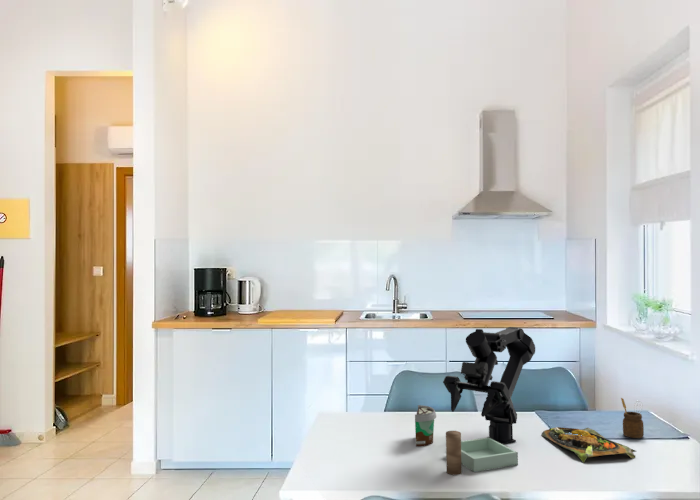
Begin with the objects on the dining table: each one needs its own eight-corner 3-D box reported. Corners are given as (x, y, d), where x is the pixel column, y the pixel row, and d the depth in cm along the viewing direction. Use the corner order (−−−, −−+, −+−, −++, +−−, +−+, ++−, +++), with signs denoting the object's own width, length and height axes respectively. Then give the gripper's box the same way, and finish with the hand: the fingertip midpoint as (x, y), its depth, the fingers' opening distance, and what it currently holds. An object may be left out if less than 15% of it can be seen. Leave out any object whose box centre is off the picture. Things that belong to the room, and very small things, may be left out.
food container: (435, 449, 167) (435, 415, 167) (415, 448, 168) (414, 415, 168) (437, 436, 179) (437, 405, 179) (418, 435, 180) (418, 404, 180)
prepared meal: (535, 423, 181) (587, 419, 183) (536, 433, 181) (587, 429, 183) (580, 455, 153) (641, 450, 155) (581, 468, 153) (641, 463, 155)
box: (488, 449, 166) (488, 437, 166) (518, 464, 153) (517, 452, 153) (447, 455, 161) (447, 443, 161) (474, 472, 148) (474, 459, 148)
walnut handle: (456, 468, 151) (455, 429, 151) (464, 473, 147) (463, 434, 147) (443, 470, 150) (443, 431, 150) (451, 476, 146) (450, 436, 146)
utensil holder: (647, 438, 173) (646, 400, 173) (627, 438, 173) (626, 400, 174) (638, 432, 179) (637, 395, 179) (618, 433, 179) (617, 395, 179)
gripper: (445, 348, 166) (427, 392, 157) (505, 353, 154) (489, 401, 145) (458, 370, 172) (441, 414, 163) (516, 377, 160) (501, 425, 151)
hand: (466, 413), depth 155 cm, fingers open, 9 cm apart
